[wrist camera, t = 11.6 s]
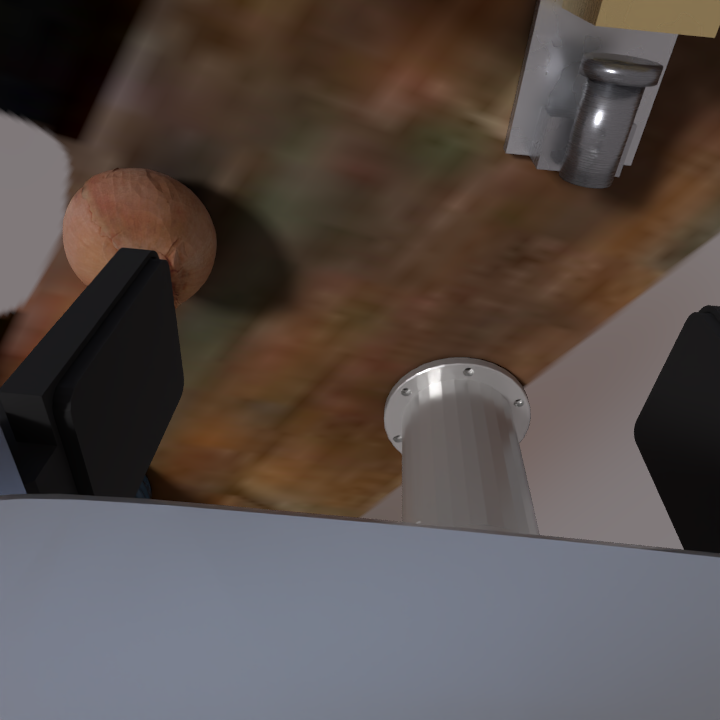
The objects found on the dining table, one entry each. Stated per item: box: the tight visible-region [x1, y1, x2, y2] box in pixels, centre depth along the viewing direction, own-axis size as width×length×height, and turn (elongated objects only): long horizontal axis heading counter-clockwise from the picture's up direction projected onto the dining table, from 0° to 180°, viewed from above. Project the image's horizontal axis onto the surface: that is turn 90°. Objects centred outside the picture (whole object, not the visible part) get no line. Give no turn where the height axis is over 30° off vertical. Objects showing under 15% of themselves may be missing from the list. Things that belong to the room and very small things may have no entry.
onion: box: [63, 168, 217, 308], centre depth 39 cm, size 10×9×10 cm
